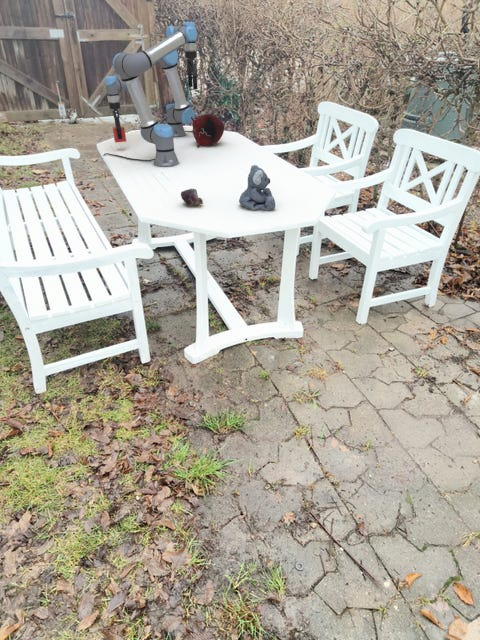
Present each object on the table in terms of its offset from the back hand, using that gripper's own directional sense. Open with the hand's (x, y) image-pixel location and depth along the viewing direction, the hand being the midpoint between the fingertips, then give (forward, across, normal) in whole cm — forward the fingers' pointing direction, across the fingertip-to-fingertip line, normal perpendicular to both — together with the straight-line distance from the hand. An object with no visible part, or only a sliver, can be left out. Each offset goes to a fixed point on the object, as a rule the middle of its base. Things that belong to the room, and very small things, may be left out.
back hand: (119, 138), depth 318 cm
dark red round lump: (+9, -3, -64) cm, 65 cm away
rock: (+8, -125, -21) cm, 127 cm away
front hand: (-31, -20, -51) cm, 63 cm away
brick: (+2, 0, 0) cm, 2 cm away
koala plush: (+9, -138, -52) cm, 148 cm away
